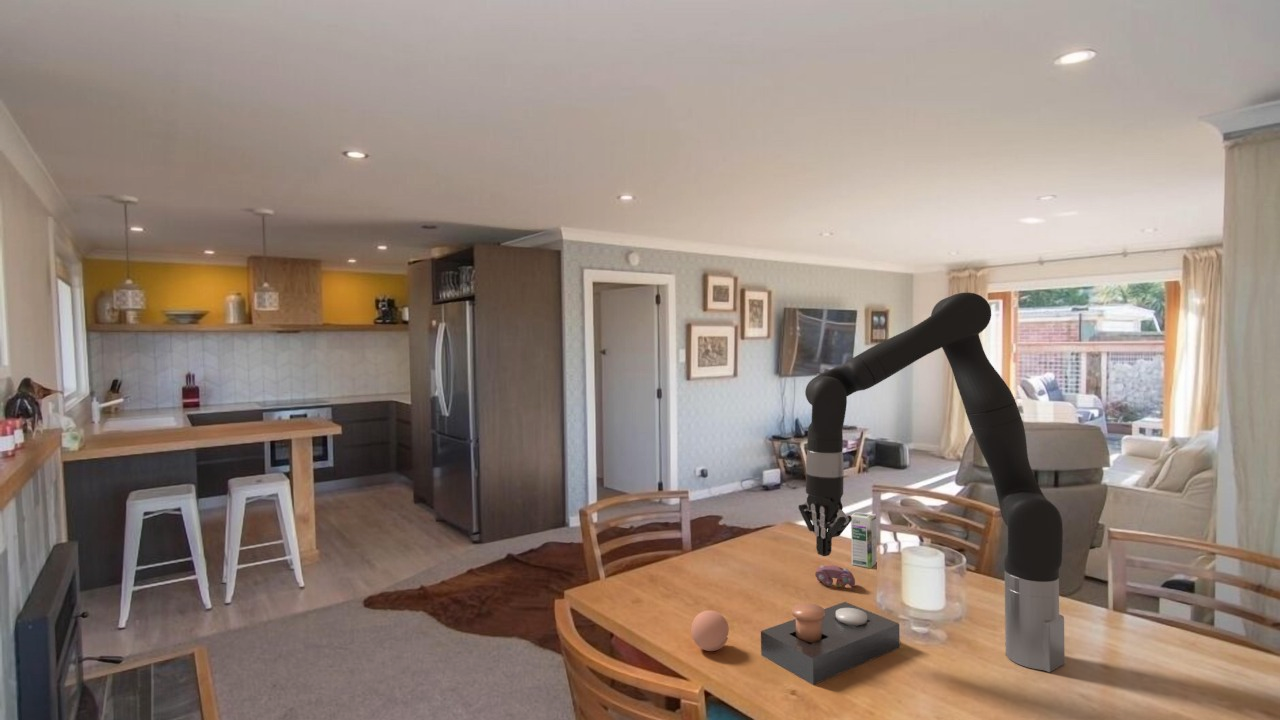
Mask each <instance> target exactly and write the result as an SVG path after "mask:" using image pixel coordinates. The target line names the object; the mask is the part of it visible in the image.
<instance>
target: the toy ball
mask: <svg viewBox="0 0 1280 720" xmlns="http://www.w3.org/2000/svg"><path fill="white" fill-rule="evenodd" d="M690 627H691V629H690V630H691V631H690V632H691V637H692V639H693V641H694V643H695V644H696V645H697V646H698V648H700V649H702V650H704V651H706V652H714V651H717V650H720V649H721V648H723V647H724V646H725V644H726V643H727V641H728V639H729V638H728V636H729V629H730V628H729V623H728V621H727V620H726V618H725V617H724V615H722V614H721V613H719V612H718V611H714V610H708V609H707V610H703V611H701V612H699V613H698V614H696V616H695V617H694V618H693V620H692V624H691V626H690Z"/></svg>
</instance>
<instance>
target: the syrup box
mask: <svg viewBox="0 0 1280 720" xmlns="http://www.w3.org/2000/svg"><path fill="white" fill-rule="evenodd" d="M850 516H851V518H852V520H851V522H850V529H851V530H850V535H851V536H850V537H851V566H858V567H862V568H868V569H872V568H873V567H874V566H875V565H876V564H877V563H876V560H877V559H878V558H877V557H878V555H877V554H878V553H877V515H876V513H873V514H872V513H867V512H866V513H865V512H860V511H859V512H858V511H857V512H854V513H853V514H851V515H850ZM877 561H878V560H877Z"/></svg>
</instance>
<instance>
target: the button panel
mask: <svg viewBox="0 0 1280 720" xmlns="http://www.w3.org/2000/svg"><path fill="white" fill-rule="evenodd" d="M841 608H855V609H859V610H861V611H864V612H865V613H866V614H867V622H866V623H865V624H862V625H859V626H856V627H854V628H853V627H851V626H849V625H846V624H844V623H842V622H840V621H838V620H837V619H836V610H838V609H841ZM824 610H825V617H824V618H823V619H822V620H821V633H822V639H821V640H820V641H817V642H815V643H808V642H804V641H802V640H800V639H798V638H797V637H796V618H795V619H791V620H788V621H786V622H783V623H779V624H777V625H775V626H771V627H769V628H765V629H762V630H761V631H760V650H761V651H760V655H761V656H762V657H764V658H765V659H768V660H769V661H771V662H773V663H774V664H776V665H778V666H779V667H781V668H783V669H785V670H786V671H788V672H790V673H791V674H794V675H796V676H797V677H799V678H801V679H802V680H804V681H805V682H807V683H809V684H811V685H813V686H814V685H816V684H818V683H821V682H823V681H826V680H828V679H831V678H832V677H834V676H837V675H839V674H841V673H844V672H846V671H848V670H851V669H854V668H855V667H857V666H860V665H863V664H864V663H865V664H866V663H867V662H869V661H872V660H873V659H876V658H878V657H882V656H883V655H885V654H887V653H890V652H892V651H895V650H896V649H899V648H900V647H901V646H900V643H901V641H900V640H901V639H900V638H901V637H900V623H899V622H896V621H894V620H892V619H889V618H886V617H884V616H882V615H879V614H877V613H874V612H872V611H869V610H866V609H864V608H861V607H860V606H859V607H858V606H857V605H854V604H852V603H849V602H847V601H843V602H840V603H838V604H835V605H832V606H829V607H826V608H824Z"/></svg>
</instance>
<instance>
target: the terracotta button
mask: <svg viewBox="0 0 1280 720" xmlns="http://www.w3.org/2000/svg"><path fill="white" fill-rule="evenodd" d="M824 609H825V608H823V606H820V605H818V604H815V603H810V602H801V603H796V604H794V605H793V606H792V608H791V615H792V616H793V617H794V618H795V619H796V637H797V638H798V639H800V640H802V641H804V642H808V643H815V642H817V641H820V640H821V639H822V633H821V620H822V619H823V618H824V617H825V610H824Z"/></svg>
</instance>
